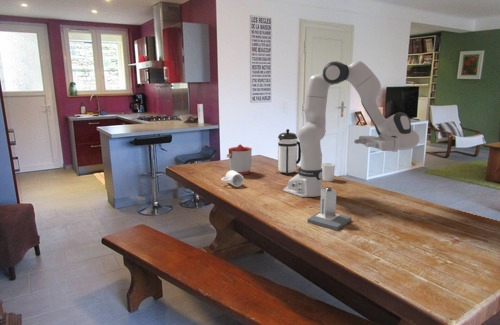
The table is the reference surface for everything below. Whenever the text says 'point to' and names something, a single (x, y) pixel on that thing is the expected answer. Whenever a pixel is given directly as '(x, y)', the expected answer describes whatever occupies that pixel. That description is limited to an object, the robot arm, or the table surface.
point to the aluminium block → (328, 202)
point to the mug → (233, 178)
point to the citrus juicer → (240, 159)
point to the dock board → (329, 221)
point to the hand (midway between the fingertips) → (360, 143)
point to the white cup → (328, 171)
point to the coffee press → (288, 152)
